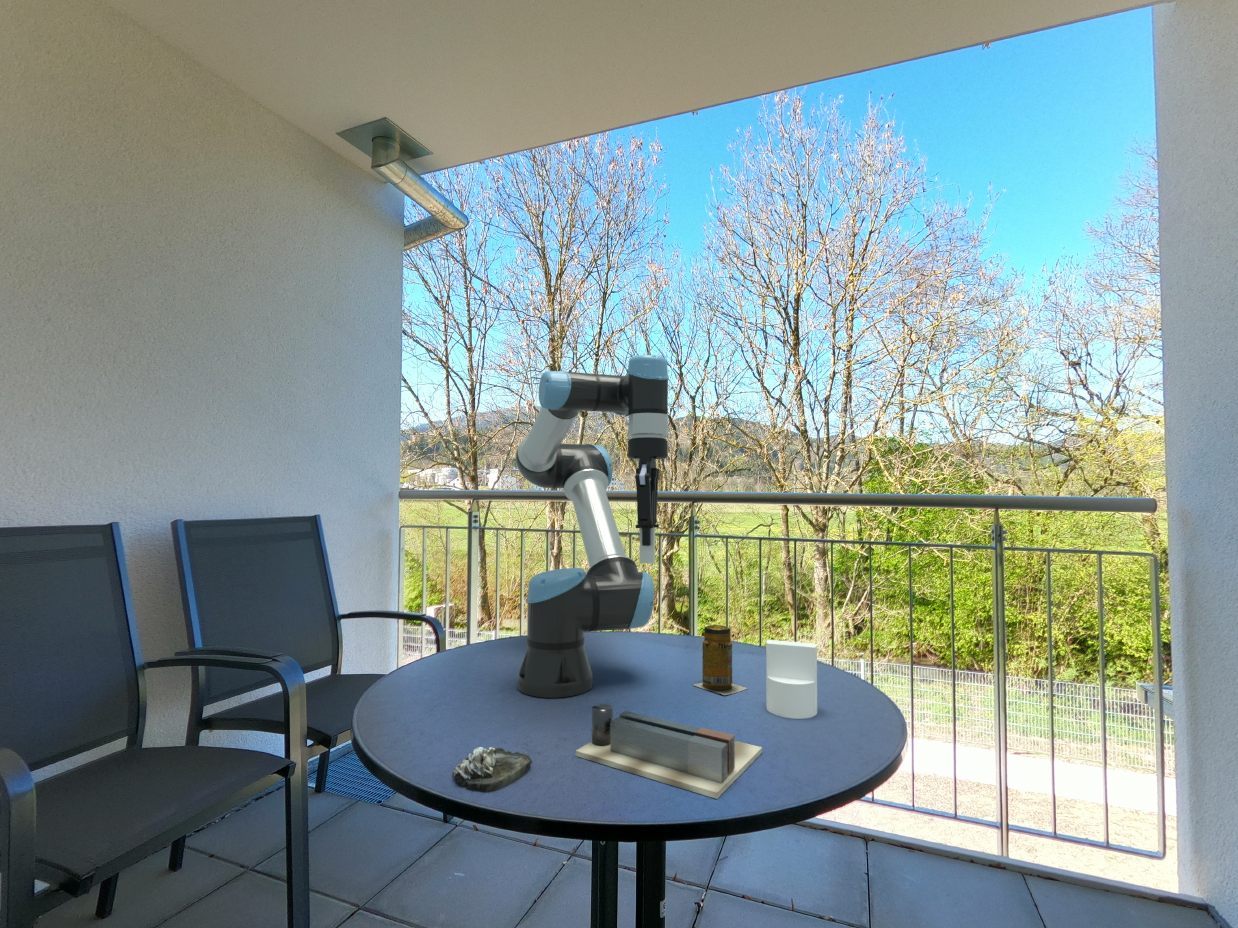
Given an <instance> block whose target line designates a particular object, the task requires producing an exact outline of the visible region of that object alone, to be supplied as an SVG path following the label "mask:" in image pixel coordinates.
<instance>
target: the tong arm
mask: <svg viewBox="0 0 1238 928" xmlns="http://www.w3.org/2000/svg"><path fill="white" fill-rule="evenodd" d="M618 715H619V716H618V718H622V719H626V720H630V721H634V722H638V723H643V724H647V725H651V726H655V727H659V728H663V729H667V730H671V731H675V732H679V733H683V734H687V735H691V736H694V735H695V736H699V737H703V738H707V739H711V740H715V741H719V742H723V743H727V774H730V773H731V772H732V771H733V770H734V769H735V741H736V739H735V734H732V733H726V732H722V731H719V730H714V729H710V728H706V727H701V728H700V727H696V726H692V725H688V724H684V723H679V722H676V721H671V720H667V719H662V718H657V717H653V716H650V715H645V714H641V713H637V712H632V711H628V710H623V711H622V712H621V713H619V714H618Z"/></svg>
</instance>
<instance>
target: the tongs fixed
mask: <svg viewBox="0 0 1238 928" xmlns="http://www.w3.org/2000/svg"><path fill="white" fill-rule="evenodd" d="M591 741H592V744H594V745H596V746H608V745H610V744H611V746H610V751H611V752H615V753H618V754H621V755H625V756H628V757H632V758H635V759H639V760H642V761H646V762H649V763H653V764H656V765H660V766H663V767H667V768H670V769H674V770H677V771H680V772H684V773H687V774H690V775H693V776H697V777H700V778H703V779H707V780H710V781H714V782H717V783H721V784H722V783H723V782H724V781H725V780H726V779H727V743H723V742H719V741H715V740H711V739H707V738H703V737H699V736H695V735H694V736H691V735H687V734H683V733H679V732H675V731H671V730H667V729H663V728H659V727H655V726H651V725H647V724H643V723H638V722H634V721H630V720H626V719H622V718H619V716H616V717H615V718H613V707H612V706H611V705H610V704H603V703H602V704H595V705H593V706H592V707H591Z"/></svg>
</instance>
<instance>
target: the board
mask: <svg viewBox="0 0 1238 928" xmlns="http://www.w3.org/2000/svg"><path fill="white" fill-rule="evenodd" d="M610 746H611V744H610V745H608V746H596V745H594V744H592V740H591V741H589V742H588V743H586V744H584V745H583V746H581V747H579V748H578V749H576V750H575V757H578V758H581V759H585V760H587V761H591V762H594V763H598V764H601V765H604V766H607V767H611V768H613V769H618V770H621V771H624V772H627V773H631V774H634V775H637V776H640V777H643V778H647V779H650V780H653V781H656V782H660V783H663V784H666V785H669V786H673V787H676V788H679V789H683V790H685V791H689V792H693V793H696V794H699V795H702V796H706V797H709V798H712V799H714V800H715V799H716V800H718V799H719V798H720V797H721V796H722V794H724V793H725V792H726V790H728V788H729V787H730V786H731V785H732V784H733V783H734V782H735V781H736V780H737V779H738V778H739V777H740V776H741V775H742V774H743V773H744V772H745V771H746V770H747V769H748V768H749V767H750V766H751V765H752V764H753V763H754V762H755V760H757V759H758V757H759V756H760V755H762V753H763V747H762V746H759V745H754V744H750V743H746V742H741V741H738V740H735V769H734V770H733V771H732V772H731V773H730V774H727V779H726V780H725V781H724V782H723V783H722V784H721V783H717V782H714V781H710V780H707V779H703V778H700V777H697V776H693V775H690V774H687V773H684V772H680V771H677V770H674V769H670V768H667V767H663V766H660V765H656V764H653V763H649V762H646V761H642V760H639V759H635V758H632V757H628V756H625V755H621V754H618V753H615V752H611V751H610Z"/></svg>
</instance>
